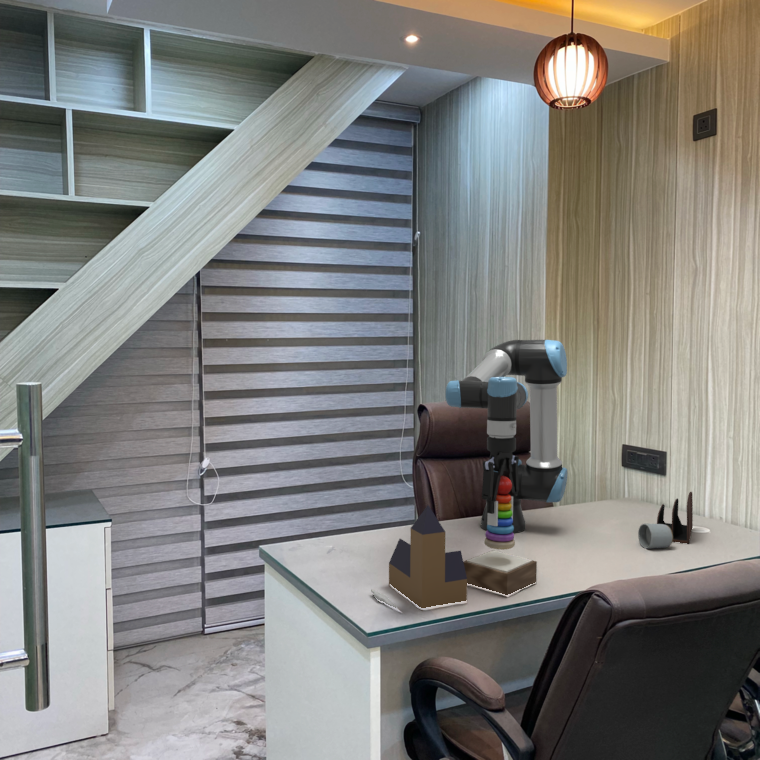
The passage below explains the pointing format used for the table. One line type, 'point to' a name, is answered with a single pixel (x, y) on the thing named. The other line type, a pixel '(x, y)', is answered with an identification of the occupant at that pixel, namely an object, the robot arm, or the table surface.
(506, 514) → the stacking toy
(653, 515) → the table surface
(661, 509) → the letter holder
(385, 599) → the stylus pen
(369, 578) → the table surface
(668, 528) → the ceramic mug
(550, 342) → the robot arm
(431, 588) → the toy building blocks
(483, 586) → the base block
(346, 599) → the table surface
